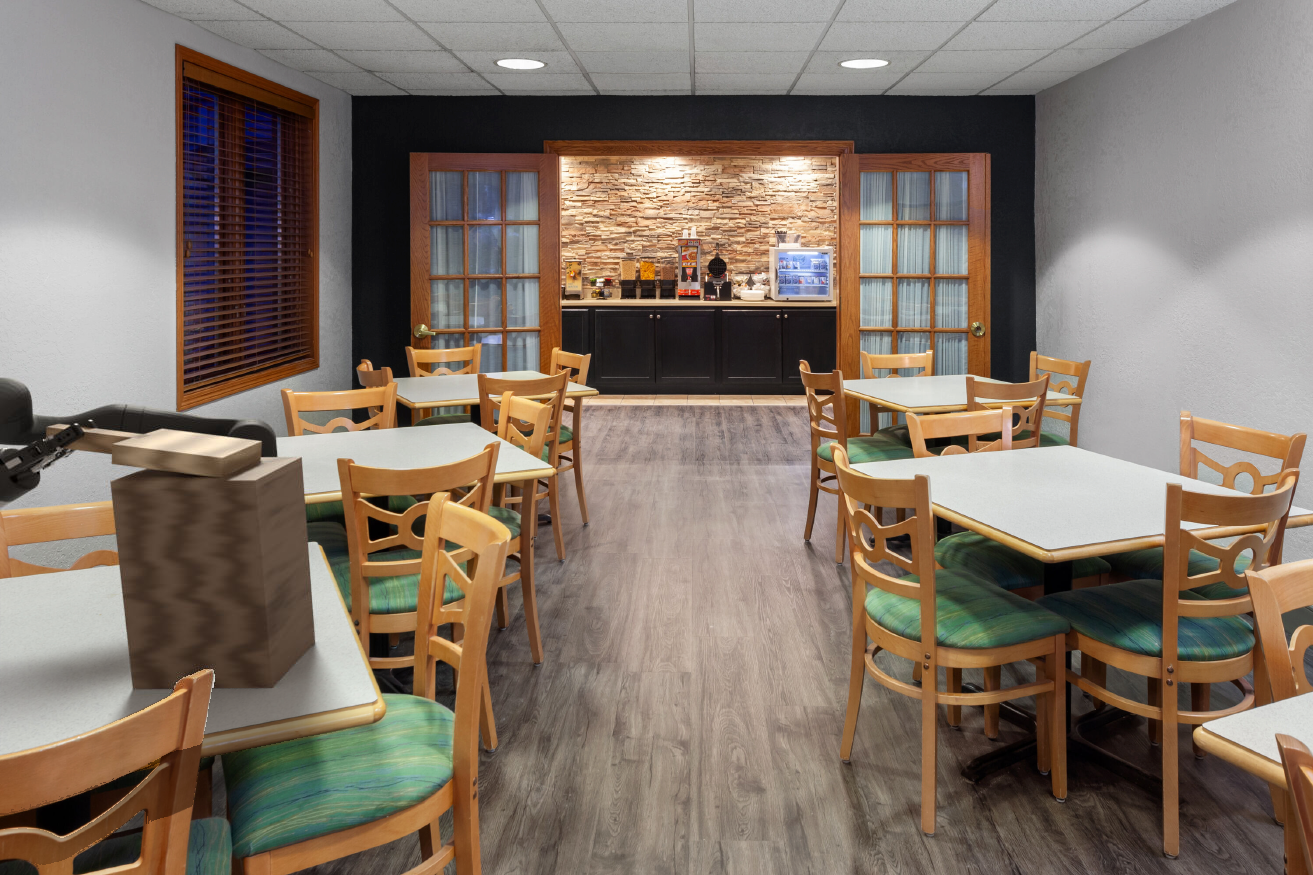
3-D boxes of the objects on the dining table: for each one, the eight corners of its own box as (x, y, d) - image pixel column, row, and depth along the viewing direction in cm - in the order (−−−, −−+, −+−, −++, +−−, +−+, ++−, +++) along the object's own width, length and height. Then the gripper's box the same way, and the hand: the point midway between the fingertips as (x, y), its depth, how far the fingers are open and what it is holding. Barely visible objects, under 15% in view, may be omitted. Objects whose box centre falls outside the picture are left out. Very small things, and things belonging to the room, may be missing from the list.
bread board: (260, 459, 149) (261, 441, 149) (221, 477, 136) (222, 457, 135) (80, 436, 148) (80, 418, 148) (21, 452, 135) (22, 432, 134)
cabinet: (315, 641, 157) (301, 457, 151) (272, 687, 139) (255, 480, 134) (191, 642, 157) (173, 458, 151) (132, 689, 139) (110, 481, 133)
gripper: (-53, 470, 135) (43, 412, 134) (12, 452, 149) (100, 399, 148) (-22, 513, 136) (73, 456, 135) (40, 492, 150) (127, 439, 149)
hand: (87, 427), depth 141 cm, fingers closed on bread board, 3 cm apart
